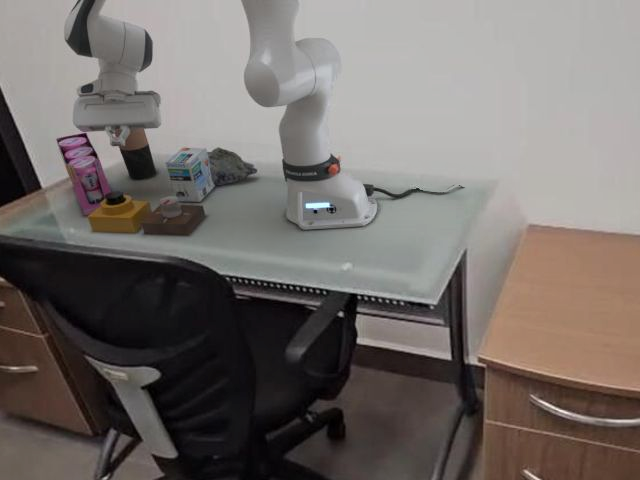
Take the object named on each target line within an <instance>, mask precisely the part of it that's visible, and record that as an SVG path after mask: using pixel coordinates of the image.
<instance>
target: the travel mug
mask: <svg viewBox="0 0 640 480" xmlns="http://www.w3.org/2000/svg"><path fill="white" fill-rule="evenodd" d="M121 132H122V130H115V134H114V137H119V136H120V134H121ZM118 148H119V151H120V154H121V157H122V159H123V163H124V166H125V167H126V170H127V173H128V176H129V178H130V179H132V180H137V181H139V180H147V179H149V178H152V177H154V176H155V175H156V174H157V170H156V167H155V163H154V162H155V161H154V159H153V155H152V150H151V147H150V143H149V141H148V137H147V134H146V130H145V129H131V130H130V134H129V135H128V137H127V138H126V140H125V146H118Z"/></svg>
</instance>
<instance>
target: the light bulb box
mask: <svg viewBox="0 0 640 480" xmlns="http://www.w3.org/2000/svg"><path fill="white" fill-rule="evenodd" d="M207 152H208V151H207V148H206V147H187V146H185V147H182V148H180V149H179V150H178V151H177V152H176V153H175V154H173V156H171V157H170V158H169V159H168V160H167V161H165V165H166V169H167V172H168V176H169V179H170V182H171V186H172V189H173V192H174V197H177V198H178V200H179V202H193V203H195V202H197V203H200V202H202V200H204V199H205V197H206V196H207V195H208V194H209V193H210V192H212V190H213V189H214V188H215V187H216V185H214V183H213V182H212V177H211V172H210V162H209V158H208V154H207Z"/></svg>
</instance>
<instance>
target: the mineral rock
mask: <svg viewBox="0 0 640 480" xmlns="http://www.w3.org/2000/svg"><path fill="white" fill-rule="evenodd" d="M207 154H208V158H209V162H210V172H211V177H212V182H213V183H214V185H215V186H222V185H225V184H231V183H235V182H240V181H242V180H243V179H246V178H248V177H249V176H251V175H254V174H257V173H258V168H255V165H254V164H253V163H251V162H247V161H244V160H243V159H242V157H241V156H240V155H238V153H236V152H235V151H231V150H228V149H226V148H225V149H224V148H222V147H220V146H219V147H215V148H214V149H213V150H211V151H207Z"/></svg>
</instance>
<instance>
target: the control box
mask: <svg viewBox="0 0 640 480" xmlns="http://www.w3.org/2000/svg"><path fill="white" fill-rule="evenodd" d="M123 195H124V198H125V202H123V203H121V204H118V205H108V204H107V201H106V199H104V200H103V201H102V202H101V206H99V207H98V208H97V209H96V210H95V211H93V212H92V213H91V214H90V215H86V216H87V219H88V222H89V225H90V227H91V230H92V232H103V233H104V232H105V233H129V234H130V233H132V234H136V233H138V231H139V230H141V228H142V225H141V222H143V221H144V220H145V219H146V218H147V217H148V216H149V215H150V214H151V213H152V212H153V209H152V207H151V204H150V200H133V198H132V196H130V195H128V194H123Z"/></svg>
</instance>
